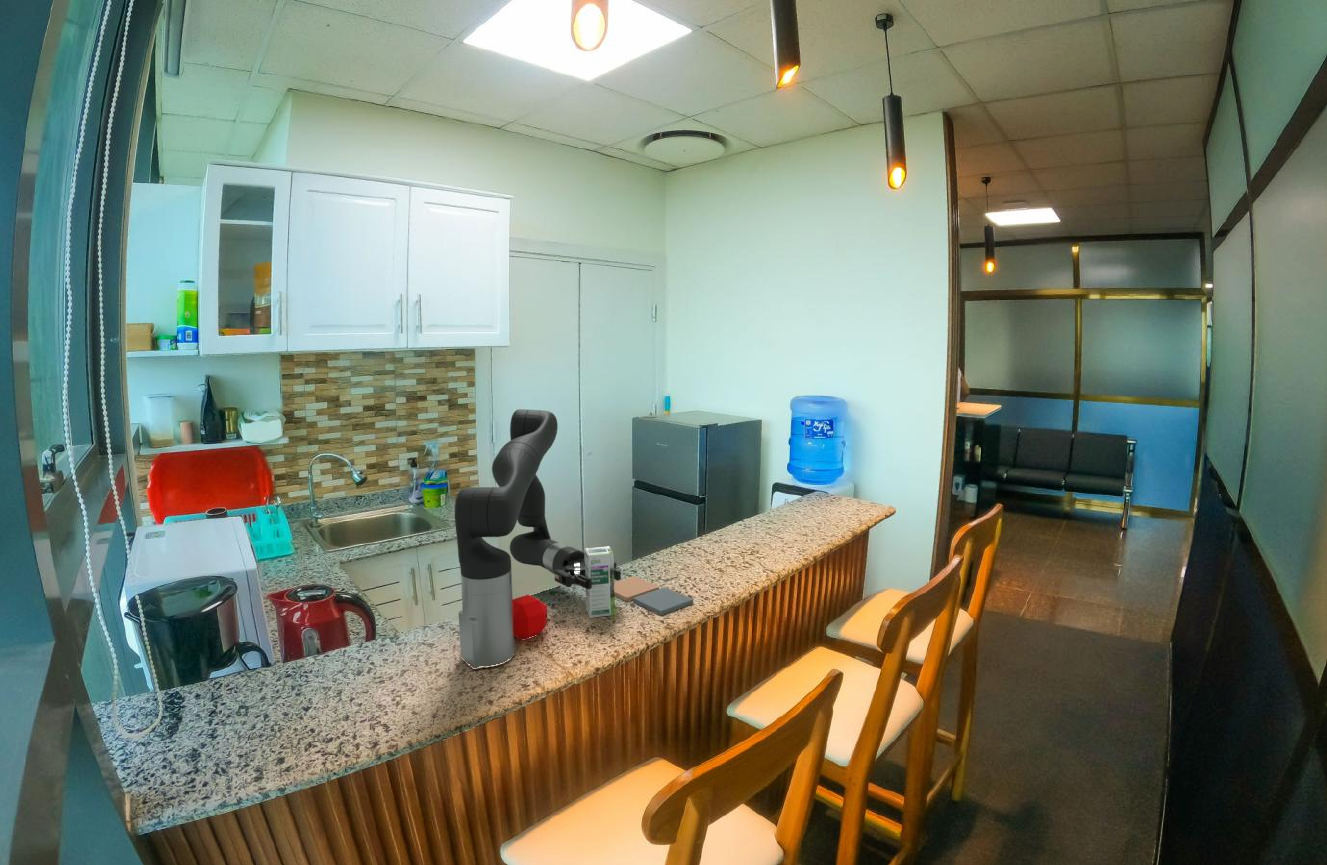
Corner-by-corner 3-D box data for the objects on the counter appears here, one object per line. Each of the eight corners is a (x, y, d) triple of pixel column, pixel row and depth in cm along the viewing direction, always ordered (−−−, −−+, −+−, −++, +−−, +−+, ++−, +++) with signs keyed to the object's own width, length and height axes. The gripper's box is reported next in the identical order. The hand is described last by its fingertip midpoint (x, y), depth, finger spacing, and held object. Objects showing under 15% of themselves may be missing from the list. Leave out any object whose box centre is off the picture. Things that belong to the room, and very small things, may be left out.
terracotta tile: (626, 601, 146) (626, 597, 146) (601, 589, 154) (601, 585, 153) (659, 590, 153) (659, 586, 152) (633, 579, 160) (633, 575, 160)
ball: (553, 634, 129) (552, 599, 128) (519, 647, 124) (518, 610, 123) (532, 622, 135) (531, 589, 134) (499, 634, 130) (497, 599, 129)
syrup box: (589, 618, 137) (588, 555, 135) (585, 608, 143) (584, 546, 141) (615, 615, 138) (614, 552, 136) (610, 605, 144) (609, 544, 142)
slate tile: (660, 615, 139) (660, 611, 138) (632, 601, 146) (632, 597, 146) (693, 603, 145) (693, 599, 145) (664, 590, 152) (664, 587, 152)
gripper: (538, 552, 145) (577, 571, 133) (589, 540, 154) (630, 556, 142) (539, 583, 146) (578, 605, 134) (590, 569, 155) (630, 588, 143)
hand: (605, 580), depth 138 cm, fingers closed on syrup box, 7 cm apart
